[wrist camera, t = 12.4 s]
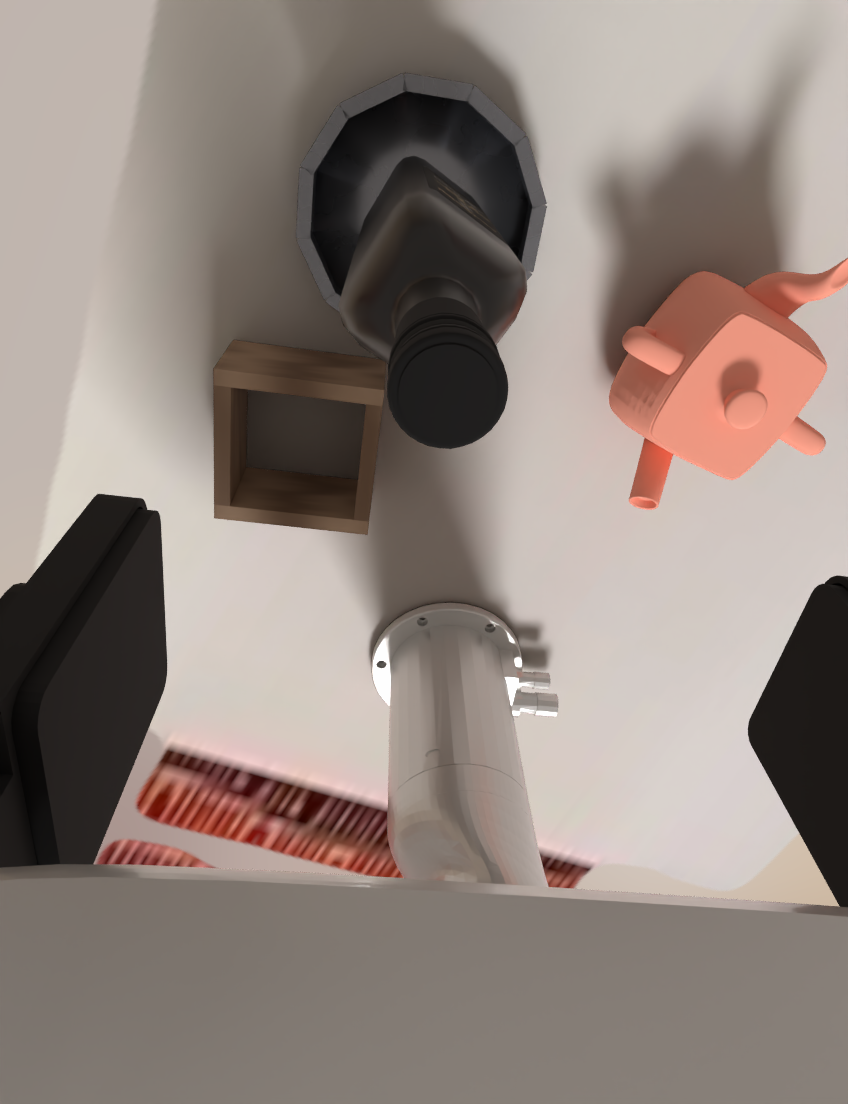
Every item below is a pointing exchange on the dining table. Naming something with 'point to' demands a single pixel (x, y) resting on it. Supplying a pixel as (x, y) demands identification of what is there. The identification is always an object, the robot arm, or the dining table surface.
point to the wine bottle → (434, 304)
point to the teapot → (721, 375)
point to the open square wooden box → (281, 491)
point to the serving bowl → (431, 134)
